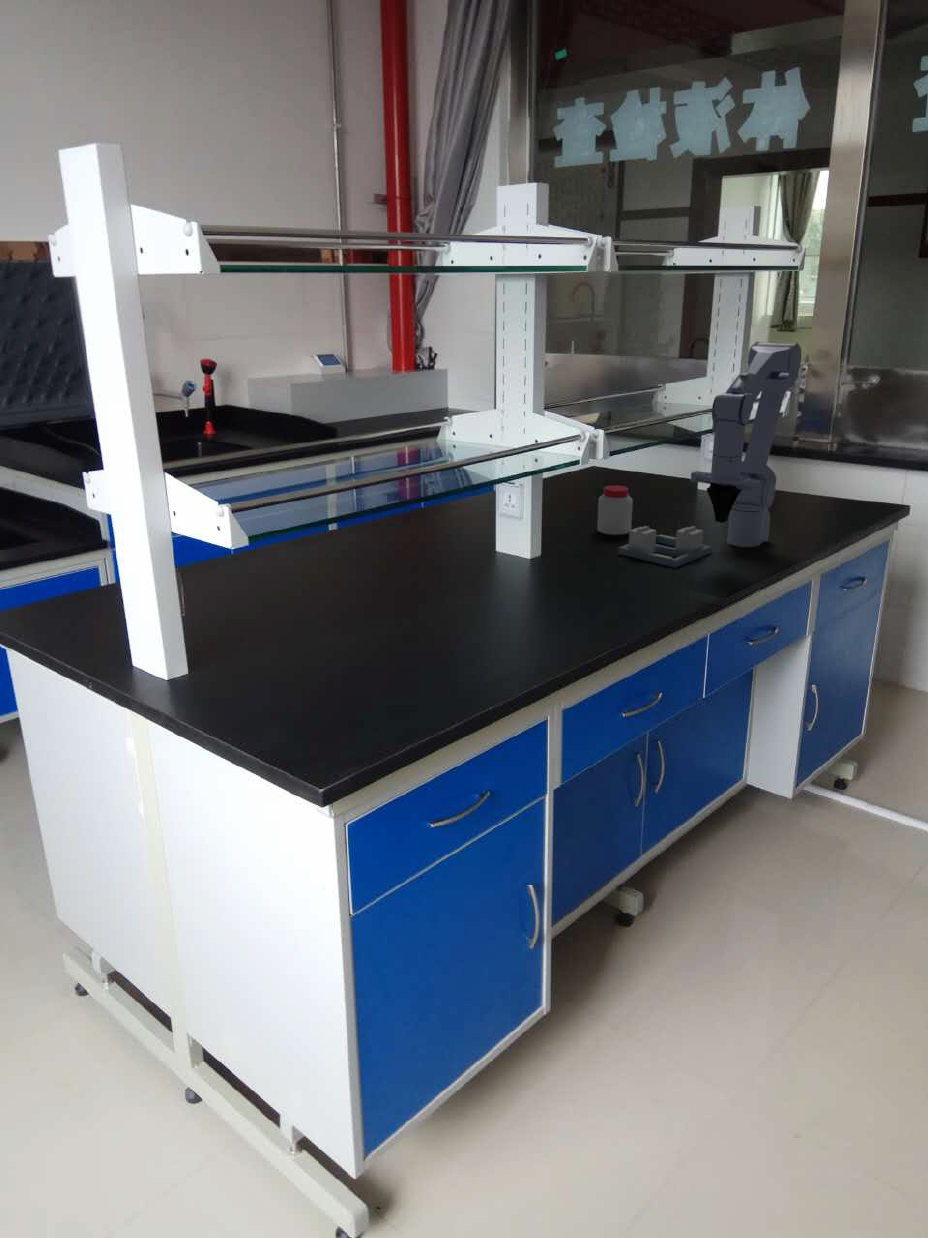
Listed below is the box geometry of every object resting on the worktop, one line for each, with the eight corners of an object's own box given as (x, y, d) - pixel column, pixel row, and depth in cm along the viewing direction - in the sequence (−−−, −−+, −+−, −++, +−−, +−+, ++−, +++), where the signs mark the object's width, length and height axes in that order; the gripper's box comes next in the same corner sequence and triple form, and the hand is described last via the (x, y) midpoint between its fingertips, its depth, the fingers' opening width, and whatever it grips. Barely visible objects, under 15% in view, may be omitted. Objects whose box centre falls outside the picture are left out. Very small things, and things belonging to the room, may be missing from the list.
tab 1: (639, 549, 200) (640, 524, 198) (654, 552, 198) (656, 527, 196) (628, 553, 198) (629, 527, 196) (644, 556, 195) (645, 531, 193)
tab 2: (685, 549, 200) (687, 524, 198) (701, 553, 197) (703, 527, 195) (675, 553, 197) (676, 528, 195) (691, 557, 194) (693, 531, 192)
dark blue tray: (638, 541, 210) (638, 529, 209) (712, 558, 197) (714, 545, 197) (600, 554, 201) (601, 542, 200) (676, 573, 188) (677, 560, 187)
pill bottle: (630, 539, 211) (632, 492, 207) (596, 538, 213) (598, 491, 209) (631, 530, 218) (633, 484, 214) (598, 529, 220) (600, 483, 216)
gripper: (684, 453, 187) (679, 518, 192) (750, 462, 177) (743, 531, 182) (703, 448, 192) (698, 512, 196) (768, 457, 182) (761, 524, 187)
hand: (721, 521), depth 190 cm, fingers closed
